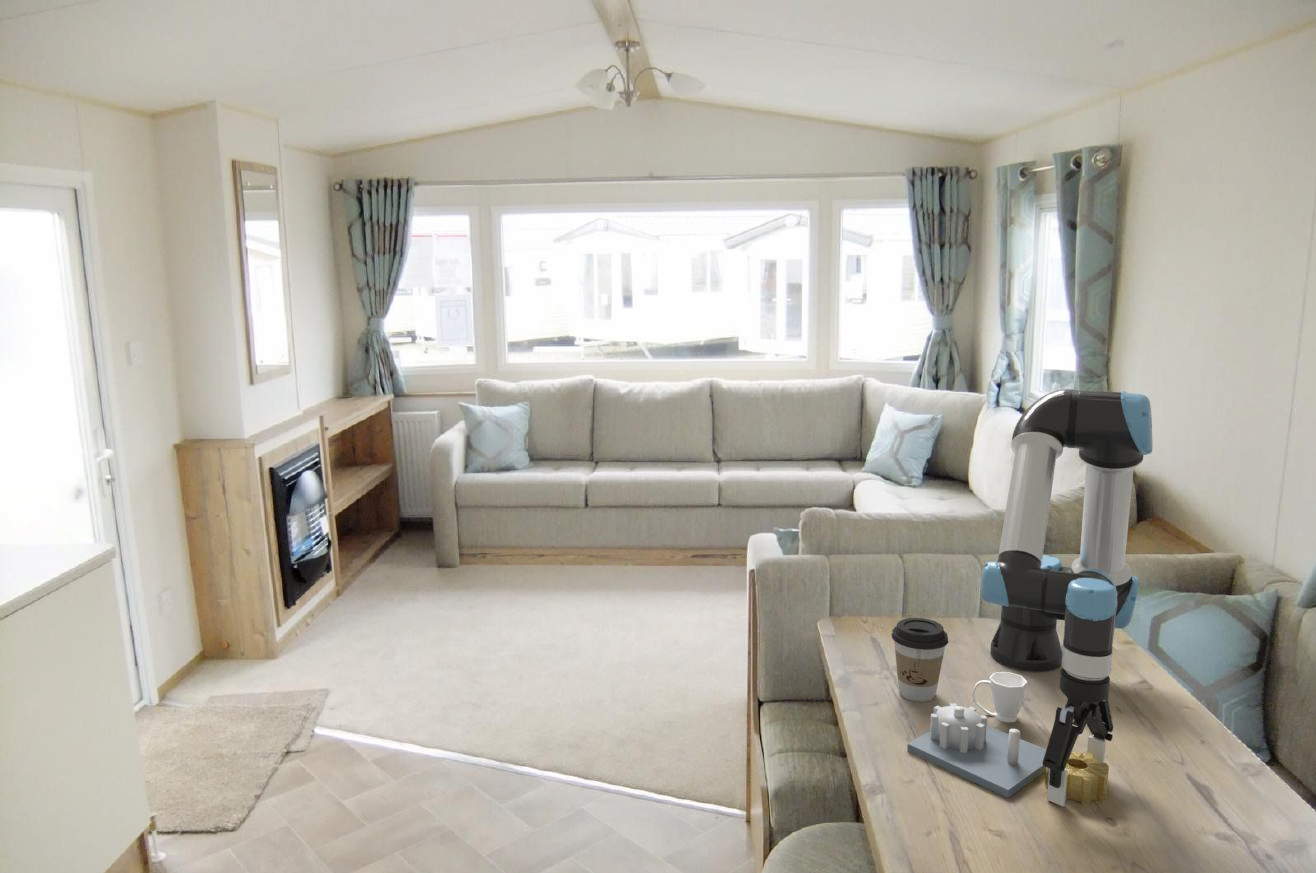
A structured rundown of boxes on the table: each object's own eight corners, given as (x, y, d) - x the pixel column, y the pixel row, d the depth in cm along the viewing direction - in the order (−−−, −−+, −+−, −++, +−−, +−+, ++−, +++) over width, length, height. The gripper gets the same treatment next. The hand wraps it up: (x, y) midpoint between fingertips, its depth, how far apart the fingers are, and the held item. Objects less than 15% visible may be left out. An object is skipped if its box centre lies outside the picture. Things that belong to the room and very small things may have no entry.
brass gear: (1061, 765, 167) (1063, 742, 166) (1117, 788, 159) (1120, 765, 159) (1033, 786, 161) (1035, 762, 160) (1090, 811, 153) (1092, 786, 152)
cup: (1026, 728, 180) (1028, 689, 178) (971, 720, 183) (973, 682, 181) (1024, 711, 187) (1026, 673, 185) (971, 704, 190) (973, 667, 188)
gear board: (958, 720, 183) (960, 685, 182) (1057, 761, 168) (1060, 723, 167) (907, 750, 172) (908, 713, 171) (1007, 797, 157) (1010, 757, 156)
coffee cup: (885, 701, 191) (887, 632, 188) (893, 677, 202) (895, 612, 199) (942, 710, 187) (946, 640, 184) (948, 686, 197) (951, 619, 194)
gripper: (1097, 644, 167) (1088, 753, 171) (1025, 686, 151) (1017, 805, 155) (1141, 657, 161) (1130, 769, 165) (1071, 702, 145) (1061, 825, 149)
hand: (1075, 787), depth 160 cm, fingers open, 13 cm apart
